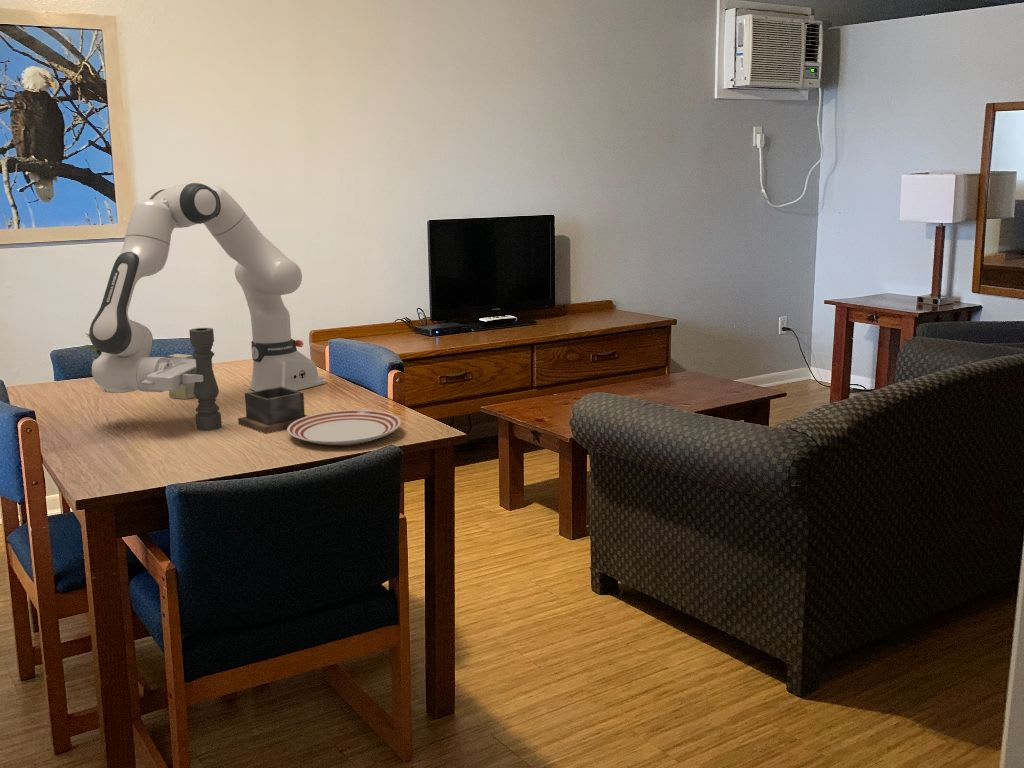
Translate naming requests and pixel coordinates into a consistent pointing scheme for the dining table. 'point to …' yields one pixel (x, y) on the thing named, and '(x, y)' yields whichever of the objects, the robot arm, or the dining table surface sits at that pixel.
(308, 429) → the dinner plate
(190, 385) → the skincare box
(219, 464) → the dining table surface
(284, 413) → the dark square box
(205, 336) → the candle holder
